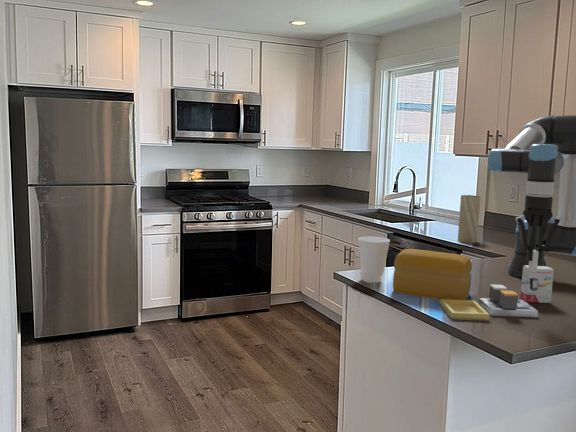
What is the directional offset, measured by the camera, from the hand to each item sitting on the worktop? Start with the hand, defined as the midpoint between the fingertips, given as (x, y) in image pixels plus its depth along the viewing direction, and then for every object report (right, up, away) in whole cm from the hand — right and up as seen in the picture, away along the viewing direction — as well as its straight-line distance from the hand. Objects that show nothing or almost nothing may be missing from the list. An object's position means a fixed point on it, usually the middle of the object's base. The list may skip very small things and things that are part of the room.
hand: (532, 271), depth 165 cm
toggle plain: (-8, -10, +8) cm, 15 cm away
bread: (-25, -10, +23) cm, 36 cm away
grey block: (-7, -11, +1) cm, 13 cm away
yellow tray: (-21, -13, +2) cm, 25 cm away
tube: (+23, +3, +128) cm, 130 cm away
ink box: (+9, -12, +17) cm, 22 cm away
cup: (-44, -8, +38) cm, 58 cm away
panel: (-6, -13, +5) cm, 15 cm away
